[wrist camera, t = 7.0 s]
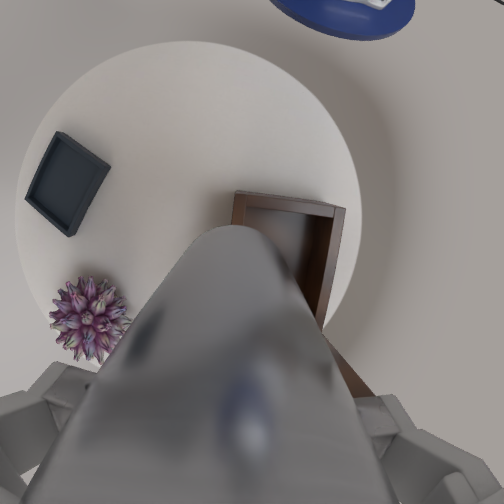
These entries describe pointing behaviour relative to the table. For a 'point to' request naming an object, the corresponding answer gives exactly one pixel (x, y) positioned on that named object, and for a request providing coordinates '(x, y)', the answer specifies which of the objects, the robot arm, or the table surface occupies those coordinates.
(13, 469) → the robot arm
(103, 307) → the flower
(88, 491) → the flask
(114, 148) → the table surface
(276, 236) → the chest
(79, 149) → the tray
